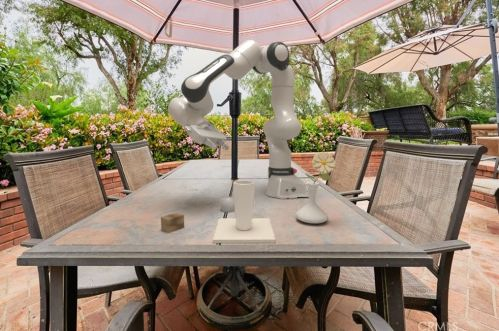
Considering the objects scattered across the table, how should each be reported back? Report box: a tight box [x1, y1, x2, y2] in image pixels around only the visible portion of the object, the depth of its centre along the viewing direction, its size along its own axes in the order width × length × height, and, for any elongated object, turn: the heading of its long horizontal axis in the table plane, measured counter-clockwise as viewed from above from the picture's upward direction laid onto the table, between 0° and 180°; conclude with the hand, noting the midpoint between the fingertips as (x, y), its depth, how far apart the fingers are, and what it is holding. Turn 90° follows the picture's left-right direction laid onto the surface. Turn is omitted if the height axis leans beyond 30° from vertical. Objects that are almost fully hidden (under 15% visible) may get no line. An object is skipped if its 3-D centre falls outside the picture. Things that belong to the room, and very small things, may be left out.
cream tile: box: [212, 217, 276, 244], centre depth 81 cm, size 18×18×1 cm
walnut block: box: [160, 212, 185, 234], centre depth 82 cm, size 6×4×4 cm, turn 141°
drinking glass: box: [232, 179, 256, 230], centre depth 80 cm, size 7×7×15 cm
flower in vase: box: [295, 151, 337, 224], centre depth 89 cm, size 13×11×25 cm
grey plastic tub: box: [220, 196, 235, 213], centre depth 103 cm, size 6×6×5 cm
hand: (221, 148), depth 98 cm, fingers open, 8 cm apart
